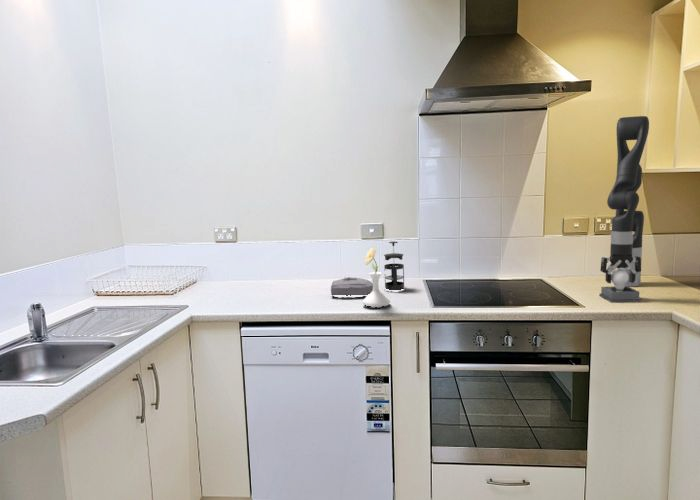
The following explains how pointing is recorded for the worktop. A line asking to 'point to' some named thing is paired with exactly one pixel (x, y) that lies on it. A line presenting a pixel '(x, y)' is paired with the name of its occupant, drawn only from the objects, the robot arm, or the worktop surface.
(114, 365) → the worktop surface
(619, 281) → the lightbulb
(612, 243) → the robot arm
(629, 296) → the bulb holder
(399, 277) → the french press
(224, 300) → the worktop surface
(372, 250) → the flower in vase
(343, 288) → the soft grey pack
